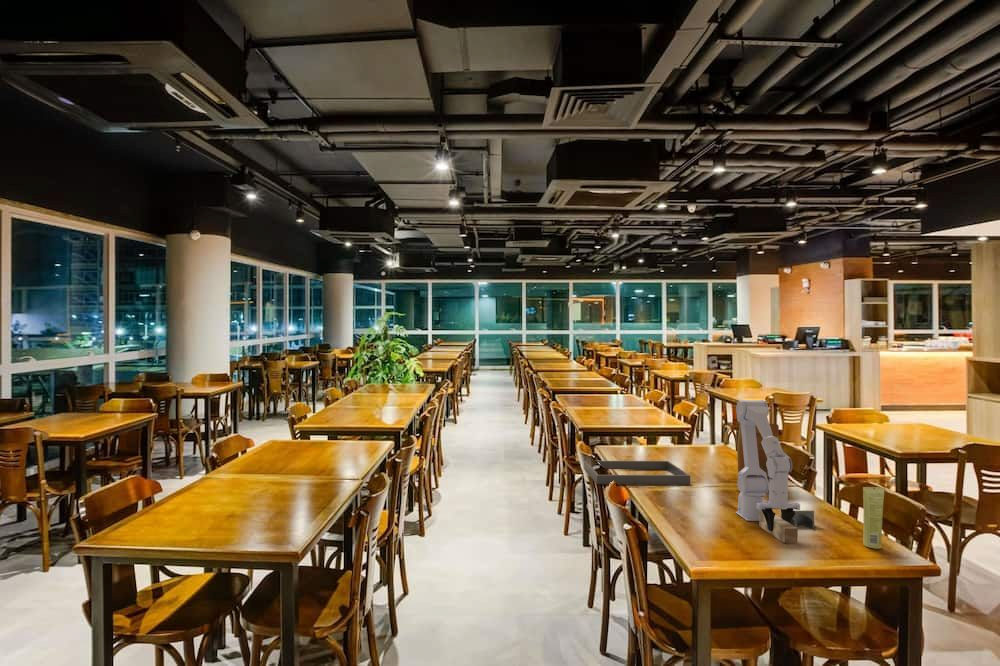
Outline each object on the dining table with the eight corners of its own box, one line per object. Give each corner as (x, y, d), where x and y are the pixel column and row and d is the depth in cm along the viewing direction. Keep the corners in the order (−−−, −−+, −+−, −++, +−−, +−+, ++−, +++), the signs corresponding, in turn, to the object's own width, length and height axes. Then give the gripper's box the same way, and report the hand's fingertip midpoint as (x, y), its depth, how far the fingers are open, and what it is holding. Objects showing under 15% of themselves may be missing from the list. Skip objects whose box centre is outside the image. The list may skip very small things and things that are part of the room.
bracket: (780, 524, 204) (781, 510, 204) (812, 524, 205) (813, 510, 205) (788, 528, 200) (788, 514, 200) (820, 528, 200) (821, 514, 200)
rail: (758, 526, 202) (759, 512, 202) (771, 526, 202) (771, 512, 202) (784, 543, 186) (784, 528, 186) (797, 543, 186) (797, 528, 186)
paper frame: (583, 468, 281) (583, 460, 281) (668, 468, 283) (668, 460, 283) (596, 484, 253) (596, 475, 253) (690, 484, 255) (690, 475, 255)
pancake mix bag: (780, 486, 255) (782, 424, 254) (738, 485, 255) (739, 423, 255) (774, 482, 261) (775, 422, 261) (732, 481, 262) (733, 421, 262)
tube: (865, 541, 188) (866, 483, 188) (883, 546, 185) (884, 486, 185) (861, 546, 184) (862, 487, 184) (879, 550, 181) (881, 490, 181)
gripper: (764, 494, 189) (763, 534, 189) (805, 494, 190) (804, 534, 190) (753, 488, 196) (752, 527, 197) (793, 488, 197) (792, 526, 197)
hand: (777, 530), depth 194 cm, fingers closed on rail, 4 cm apart
